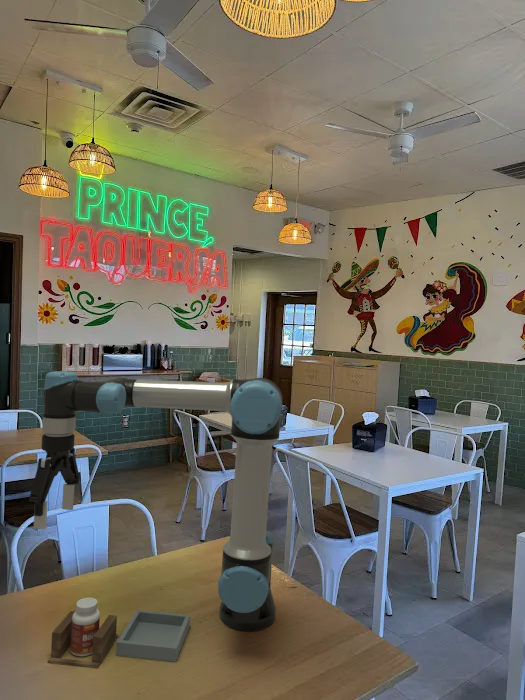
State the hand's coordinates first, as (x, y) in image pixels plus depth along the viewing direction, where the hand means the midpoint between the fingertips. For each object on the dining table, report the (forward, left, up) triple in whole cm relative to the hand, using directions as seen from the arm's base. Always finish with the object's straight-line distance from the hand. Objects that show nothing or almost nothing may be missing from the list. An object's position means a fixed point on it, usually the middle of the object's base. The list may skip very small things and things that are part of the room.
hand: (54, 518), depth 123 cm
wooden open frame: (-12, +7, -27) cm, 31 cm away
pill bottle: (-12, +7, -27) cm, 31 cm away
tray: (-27, +1, -27) cm, 39 cm away
